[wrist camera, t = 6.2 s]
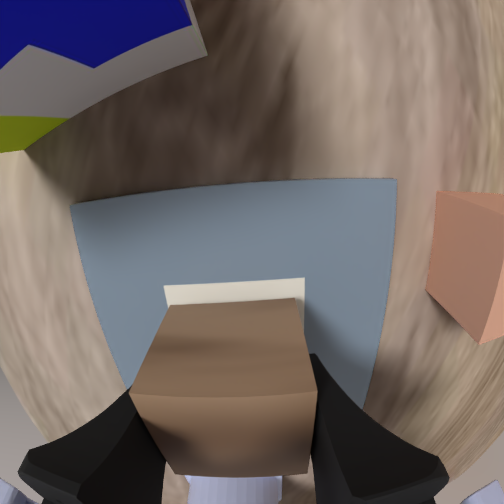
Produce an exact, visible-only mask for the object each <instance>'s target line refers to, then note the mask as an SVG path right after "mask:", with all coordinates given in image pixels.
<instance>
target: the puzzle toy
mask: <svg viewBox="0 0 504 504" xmlns="http://www.w3.org/2000/svg"><path fill="white" fill-rule="evenodd" d="M205 56H208V54H207V51H206V48H205V45H204V42H203V38H202V35H201V32H200V29H199V26H198V23H197V20H196V17H195V14H194V11H193V8H192V5H191V2H190V0H0V153H4V152H11V151H19V150H24V149H26V148H27V147H28V146H30V145H31V144H33V143H34V142H35V141H37V140H38V139H40V138H41V137H42V136H44V135H45V134H47V133H48V132H50V131H51V130H53V129H54V128H56V127H57V126H59V125H60V124H62V123H63V122H65V121H67V120H68V119H70V118H71V117H73V116H75V115H76V114H78V113H80V112H81V111H83V110H85V109H87V108H88V107H90V106H92V105H94V104H96V103H97V102H99V101H101V100H103V99H105V98H107V97H109V96H111V95H113V94H115V93H117V92H119V91H121V90H123V89H125V88H127V87H129V86H131V85H133V84H135V83H138V82H140V81H142V80H144V79H147V78H149V77H151V76H154V75H156V74H158V73H161V72H163V71H166V70H168V69H171V68H174V67H176V66H179V65H182V64H184V63H187V62H190V61H193V60H196V59H199V58H202V57H205Z"/></svg>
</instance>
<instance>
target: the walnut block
mask: <svg viewBox="0 0 504 504" xmlns="http://www.w3.org/2000/svg"><path fill="white" fill-rule="evenodd" d="M317 392H318V391H317V386H316V382H315V378H314V373H313V369H312V365H311V361H310V357H309V352H308V348H307V344H306V340H305V336H304V332H303V328H302V324H301V320H300V316H299V312H298V308H297V304H296V300H295V298H284V299H271V300H257V301H242V302H225V303H206V304H182V305H170V306H169V308H168V310H167V312H166V314H165V316H164V318H163V320H162V322H161V324H160V326H159V329H158V331H157V333H156V335H155V337H154V339H153V341H152V343H151V345H150V347H149V350H148V352H147V354H146V356H145V358H144V360H143V362H142V365H141V367H140V369H139V371H138V373H137V376H136V378H135V380H134V382H133V384H132V387H131V389H130V391H129V395H130V397H131V399H132V401H133V403H134V405H135V407H136V409H137V411H138V413H139V414H140V416H141V418H142V420H143V422H144V424H145V426H146V427H147V429H148V431H149V433H150V434H151V436H152V438H153V440H154V441H155V443H156V445H157V446H158V448H159V450H160V451H161V453H162V454H163V456H164V458H165V459H166V461H167V462H168V464H169V465H170V467H171V469H172V470H173V472H174V473H175V474H179V475H189V476H203V477H227V478H249V477H273V476H287V475H297V474H306V473H307V472H308V466H309V459H310V452H311V445H312V437H313V429H314V420H315V412H316V402H317Z"/></svg>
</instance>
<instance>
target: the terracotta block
mask: <svg viewBox="0 0 504 504" xmlns="http://www.w3.org/2000/svg"><path fill="white" fill-rule="evenodd" d="M425 290H426V291H427V292H428V293H429V294H430V295H431V296H432V297H433V298H434V299H435V300H436V301H437V302H438V303H439V304H440V305H441V306H442V307H443V308H444V309H445V310H446V311H447V312H448V313H449V314H450V315H451V316H452V317H453V318H454V319H455V320H456V321H457V322H458V323H459V324H460V325H461V326H462V327H463V328H464V329H465V330H466V331H467V332H468V334H469V335H470V336H471V337H472V338H473V339H474V340H475V341H476V342H477V343H478V344H482V343H485V342H488V341H491V340H493V339H496V338H499V337H501V336H504V195H503V194H494V193H477V192H454V191H437V194H436V211H435V223H434V234H433V243H432V251H431V258H430V265H429V272H428V278H427V283H426V289H425Z"/></svg>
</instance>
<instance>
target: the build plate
mask: <svg viewBox="0 0 504 504" xmlns="http://www.w3.org/2000/svg"><path fill="white" fill-rule="evenodd" d="M396 194H397V179H393V178H325V179H294V180H273V181H256V182H242V183H229V184H217V185H206V186H196V187H187V188H177V189H169V190H161V191H153V192H145V193H138V194H131V195H124V196H117V197H111V198H104V199H98V200H92V201H86V202H81V203H75V204H72V205H70V211H71V216H72V221H73V226H74V231H75V236H76V240H77V245H78V249H79V253H80V257H81V261H82V265H83V269H84V273H85V276H86V280H87V284H88V287H89V290H90V294H91V297H92V300H93V303H94V306H95V310H96V313H97V316H98V318H99V321H100V324H101V327H102V330H103V333H104V335H105V338H106V341H107V343H108V346H109V348H110V351H111V354H112V356H113V358H114V361H115V363H116V366H117V368H118V370H119V373H120V375H121V377H122V379H123V382H124V384H125V386H126V388H127V389H128V388H129V387H130V386H131V385H132V384H133V382H134V380H135V378H136V376H137V373H138V371H139V369H140V367H141V365H142V362H143V360H144V358H145V356H146V354H147V352H148V350H149V347H150V345H151V343H152V341H153V339H154V337H155V335H156V333H157V331H158V329H159V326H160V324H161V322H162V320H163V318H164V316H165V314H166V312H167V310H168V308H169V306H170V305H182V304H206V303H225V302H242V301H257V300H271V299H284V298H295V300H296V304H297V308H298V312H299V316H300V320H301V324H302V328H303V332H304V336H305V340H306V344H307V348H308V352H309V354H312V353H315V354H316V355H317V356H318V357H319V359H320V361H321V362H322V364H323V365H324V367H325V368H326V369H327V371H328V372H329V373H330V375H331V376H332V377H333V379H334V380H335V381H336V382H337V384H338V385H339V386H340V387H341V388H342V390H343V391H344V392H345V393H346V394H347V395H348V396H349V397H350V398H351V399H352V400H353V401H354V402H355V404H356V405H358V406H359V407H360V408H361V409H363V406H364V403H365V399H366V395H367V392H368V388H369V384H370V380H371V376H372V372H373V368H374V364H375V360H376V355H377V351H378V346H379V341H380V336H381V331H382V326H383V320H384V315H385V309H386V303H387V296H388V289H389V282H390V274H391V265H392V256H393V245H394V233H395V218H396Z"/></svg>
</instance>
